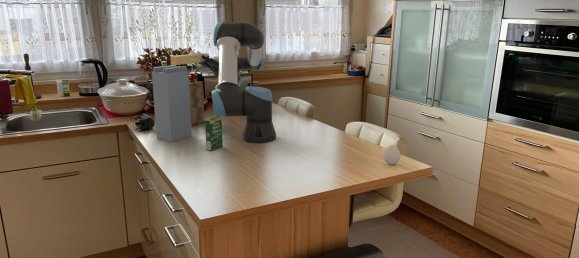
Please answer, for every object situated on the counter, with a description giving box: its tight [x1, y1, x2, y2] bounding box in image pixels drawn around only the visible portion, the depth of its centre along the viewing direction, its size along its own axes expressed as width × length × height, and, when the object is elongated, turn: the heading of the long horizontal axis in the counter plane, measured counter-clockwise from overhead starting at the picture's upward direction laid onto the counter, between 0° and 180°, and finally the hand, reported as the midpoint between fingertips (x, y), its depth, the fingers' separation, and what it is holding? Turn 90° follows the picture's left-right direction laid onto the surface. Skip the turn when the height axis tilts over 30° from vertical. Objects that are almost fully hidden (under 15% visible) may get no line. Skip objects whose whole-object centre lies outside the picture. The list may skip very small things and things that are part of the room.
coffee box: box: [204, 115, 224, 152], centre depth 184 cm, size 8×3×13 cm, turn 150°
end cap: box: [134, 113, 156, 133], centre depth 217 cm, size 10×7×7 cm
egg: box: [383, 144, 401, 166], centre depth 166 cm, size 6×6×8 cm
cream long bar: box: [170, 52, 210, 65], centre depth 226 cm, size 22×4×4 cm, turn 145°
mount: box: [151, 64, 192, 143], centre depth 200 cm, size 12×10×32 cm
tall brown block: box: [189, 79, 205, 126], centre depth 229 cm, size 10×10×21 cm
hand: (193, 53), depth 227 cm, fingers closed on cream long bar, 4 cm apart
